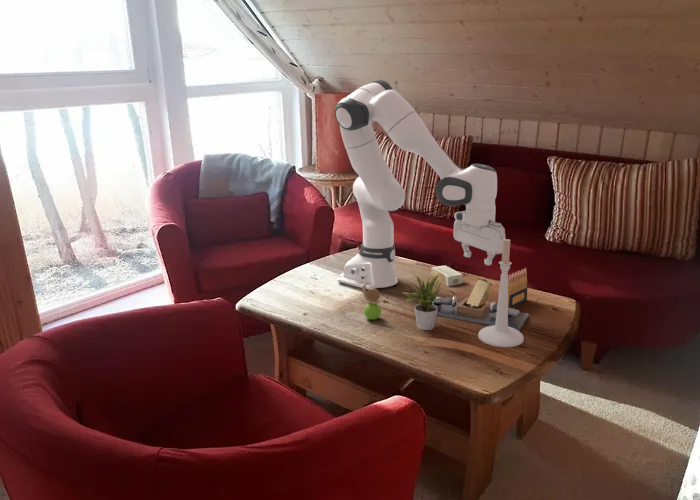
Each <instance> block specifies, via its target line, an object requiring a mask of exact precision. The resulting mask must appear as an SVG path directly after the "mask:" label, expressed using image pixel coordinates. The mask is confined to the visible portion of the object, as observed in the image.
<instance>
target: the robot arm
mask: <svg viewBox="0 0 700 500" xmlns="http://www.w3.org/2000/svg"><path fill="white" fill-rule="evenodd" d="M334 117H335V120H336V122H337V124H338V125H339V128H340V134H341V138H342V141H343V145H344V148H345V150H346V154H347V155H348V159H349V161H350V165H351V167H352V169H353V170H354V172H355V173H356V174H357V175H358V177H357V178H356V179H355V180H354V182H353V184H352V192H353V195H354V197H355V199H356V201H357V204H358V209H359V212H360V218H361V223H362V224H361V225H362V243H361V244H360V245H358V246H356V251H358V253H357V254H356V255H355V256H353V257H352V258H350V260H348V261H347V262H346V263H345V265H344V267H343V272H342V273H340V274H339V275H338V276H337V282H340V283H343V284H345V285H350V286H354V287H358V288H361V289H362V286H363V285H365V286H366V290H369V289H370V288H375V289H379V288H381V289H382V288H389V287H392V286H394V285H396V284H398V282H399V280H398V277H397V272H396V265H395V259H396V257H395V256H396V250H395V249H396V248H395V247H396V246H395V243H394V236H395V235H394V228H395V227H394V222H393V220H392V218H391V216H390V212H393V211H397V210H399V208H401V207H402V206H403V205H404V203H405V200H406V192H405V189H404V187H403V186H402V185H401V183H399V182H398V180H397V179H396V178H395V175H394V174H393V172H392V171H391V169H390V167H389V165H388V164H387V162H386V160H385V158H384V156H383V154H382V151H381V148H380V145H379V142H378V139H377V136H376V134H375V131H374V128H373V124H372V123H373V122H375V123H378V124H379V125H380V127H382V130H384V132H385V133H386V135H387V136H388V137H389V139H390V140H391V141H392V142H393V143H394V144H395V145H396V146H397V147H399V149H400V150H402V151H406V152H410V153H413V154H416V155H418V156H420V157H422V158H423V159H424V160H425V161H426V163H428V165H429V166H430V167H431V168H432V170H434V172H435V173H436V174H437V175H438V176H439V178H440V180H439V181H438V182H437V184H436V186H435V197H436V199H437V200H438V202H440V203H441V204H442V205H444V206H447V207H457V206H465V210H462V211H457V212H455V213H454V219H455V220H454V223H453V232H452V233H453V239H454V240H455V241H457V242H459V243H461V247H462V251H463V257H464V258H471V256H472V251H471V250H470V247H474V248H477V249H479V250H482V251H485V252H486V255H487V257H486V258H483V259H484V265H485V266H491V265H492V263H493V259H494V257H495V256H496V255H502V249H503V239H506V229H505V227H504V226H503V225H502V223H501V222H496V209H497V207H496V198H497V194H498V193H497V192H498V175H497V171H496V170H495V168H493V167H492V166H490V165H487V164H483V163H472V164H471V165H470V166H468V167H466V168H462V167H460V166H458V164H456V162H454V160H453V159H452V158H451V157H450V156H449V155H448V154H447V152H445V150H444V149H443V148H442V147H441V146H440V144H439V143H438V142H437V140H436V139H435V138H434V137H433V135H432V134H431V131H430V130H429V129H428V127H427V126H426V123H424V121H423V120H422V118H421V117H420V115H419V114H418V113H417V110H415V109H414V107H413V106H412V105H411V104H410V103H409V102H408V100H406V99H405V98H404V97H403V95H401V94H400V93H399V92H397V91H396V90H395V89H393V87H392V85H390V84H389V83H388V82H387V81H386V80H384V79H376V80H373V81H371V82H369V83H367V84H365V85H362V86H360V87H358V88H356V89H355V90H354V91H353V92H351V93H350V94H348V95H347V96H345V97H343V98H341V99H340V100H339V101H338V102H337V104H336V105H335V107H334ZM389 211H390V212H389ZM361 282H364V283H363V284H361Z"/></svg>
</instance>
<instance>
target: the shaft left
mask: <svg viewBox="0 0 700 500" xmlns="http://www.w3.org/2000/svg"><path fill="white" fill-rule="evenodd" d="M441 297H442V296H437V297H436V298H435V299H434V301H435V300H436V299H437V300H436V301H435V302H434V301H433V302H434V303H433V305H435V306H437V307H438V309H441V307H442V304H443V305H452V307H455V306H456V302H457V301H458V300H457V296H455V295H453V296H452V297H447V296H446V298H447V299H446V298H441ZM438 298H440V299H438Z"/></svg>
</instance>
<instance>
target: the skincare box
mask: <svg viewBox="0 0 700 500" xmlns="http://www.w3.org/2000/svg"><path fill="white" fill-rule="evenodd" d="M430 271H431V273H430V275H431V276H432V277H433V278H435V276H437V275H438V274H440V275H439V276H438V278H437V281H438V280H439V279H440V280H439V282H440V283H441V282H442V283H443V284H444V285H446V286H447V287H451V286H456V285H461V284H463V277H464V276H463V273H462V272H461V273H460V272H459V271H456V270H455V269H453V268H451V267H449V266H447V265H446V264H445V265H438V266H434V267H431V270H430ZM442 283H441V284H442Z"/></svg>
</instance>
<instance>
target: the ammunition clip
mask: <svg viewBox="0 0 700 500" xmlns="http://www.w3.org/2000/svg"><path fill="white" fill-rule="evenodd" d="M527 277H528V272H527V267H524V269H523V268H522V269H521V270H520V269H519V270H518V271H517V270H516V272H513V273H510V274H509V275H508V308H512V309H516V307H518V306H520V305H521V304H524V303H525V302H527V300H528V287H527V286H528V278H527Z"/></svg>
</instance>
